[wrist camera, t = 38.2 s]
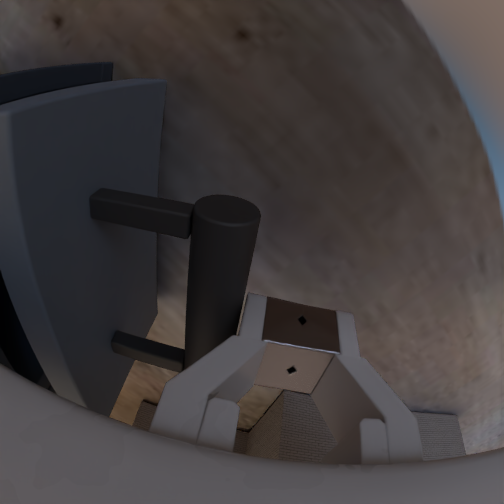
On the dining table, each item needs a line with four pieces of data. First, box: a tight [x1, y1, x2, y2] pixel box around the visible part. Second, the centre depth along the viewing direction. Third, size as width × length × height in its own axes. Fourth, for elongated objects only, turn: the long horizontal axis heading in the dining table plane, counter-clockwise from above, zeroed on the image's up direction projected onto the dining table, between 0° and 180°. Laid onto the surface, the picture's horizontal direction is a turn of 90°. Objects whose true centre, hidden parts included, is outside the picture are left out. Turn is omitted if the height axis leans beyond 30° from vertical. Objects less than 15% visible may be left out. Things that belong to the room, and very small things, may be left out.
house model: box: [132, 390, 466, 463], centre depth 21 cm, size 23×25×8 cm
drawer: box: [0, 78, 261, 417], centre depth 9 cm, size 16×10×7 cm, turn 80°
